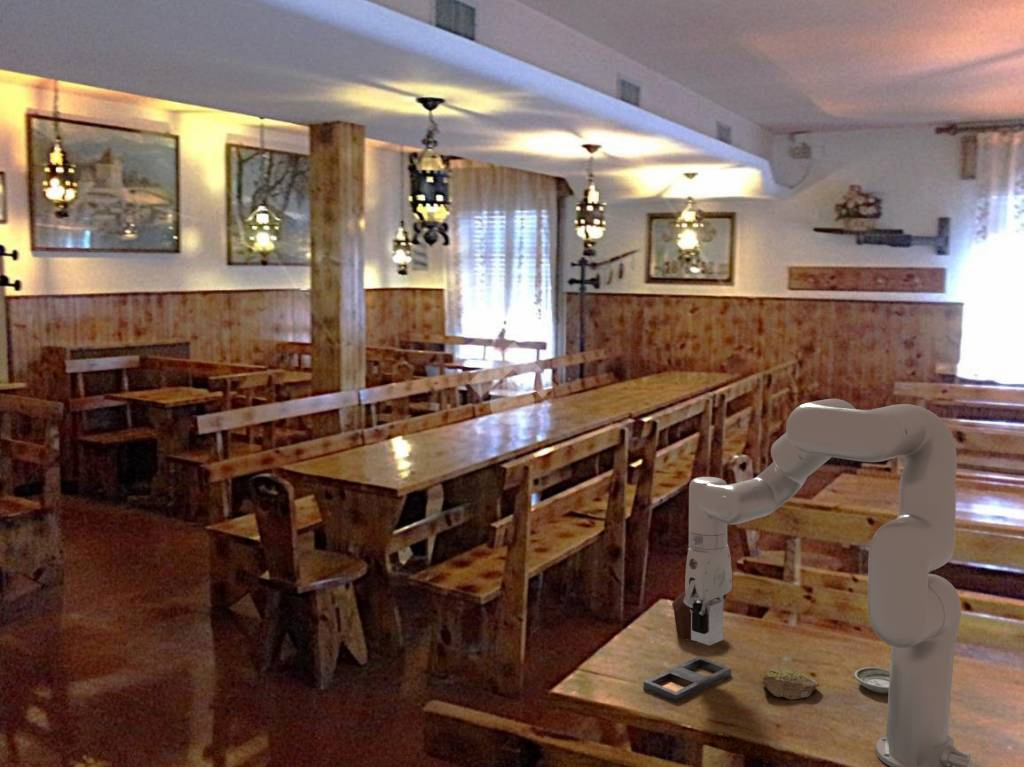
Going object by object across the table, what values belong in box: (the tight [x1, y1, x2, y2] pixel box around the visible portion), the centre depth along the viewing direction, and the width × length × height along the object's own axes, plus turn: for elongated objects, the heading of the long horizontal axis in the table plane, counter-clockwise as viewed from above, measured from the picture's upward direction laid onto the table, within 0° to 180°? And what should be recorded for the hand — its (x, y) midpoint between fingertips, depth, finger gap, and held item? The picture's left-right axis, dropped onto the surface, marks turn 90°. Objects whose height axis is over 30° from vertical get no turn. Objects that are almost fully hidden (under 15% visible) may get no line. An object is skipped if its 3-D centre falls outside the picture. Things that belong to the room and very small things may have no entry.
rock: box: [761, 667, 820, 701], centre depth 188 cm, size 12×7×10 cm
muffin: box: [671, 590, 698, 642], centre depth 215 cm, size 12×11×10 cm
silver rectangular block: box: [690, 599, 724, 646], centre depth 192 cm, size 4×4×8 cm
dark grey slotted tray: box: [643, 656, 732, 703], centre depth 191 cm, size 8×18×2 cm, turn 133°
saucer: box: [853, 666, 890, 695], centre depth 189 cm, size 10×10×2 cm
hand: (707, 627), depth 192 cm, fingers closed on silver rectangular block, 4 cm apart
